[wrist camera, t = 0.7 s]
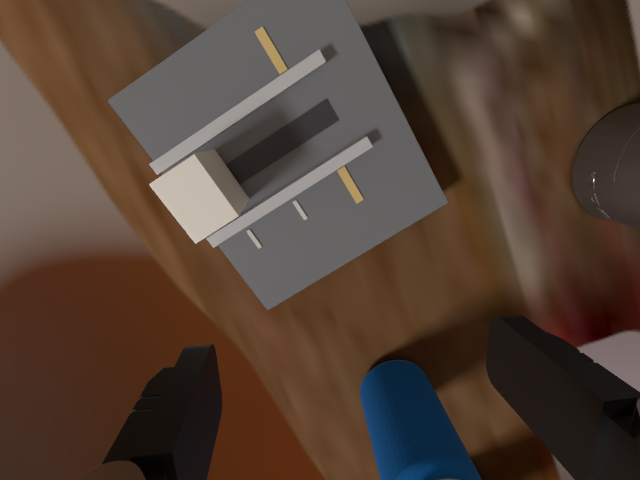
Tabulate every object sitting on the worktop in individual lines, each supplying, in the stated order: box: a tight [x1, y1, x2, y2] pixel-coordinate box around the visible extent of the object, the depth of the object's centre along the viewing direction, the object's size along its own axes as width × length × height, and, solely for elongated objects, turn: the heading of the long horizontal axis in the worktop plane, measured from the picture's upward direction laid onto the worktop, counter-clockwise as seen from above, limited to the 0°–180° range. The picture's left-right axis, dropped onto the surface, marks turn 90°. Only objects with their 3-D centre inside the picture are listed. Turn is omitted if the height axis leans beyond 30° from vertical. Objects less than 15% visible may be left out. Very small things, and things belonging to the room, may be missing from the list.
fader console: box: [108, 0, 448, 310], centre depth 25 cm, size 16×18×3 cm
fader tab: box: [149, 149, 250, 244], centre depth 22 cm, size 3×4×5 cm
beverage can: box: [360, 360, 481, 480], centre depth 28 cm, size 6×6×12 cm
